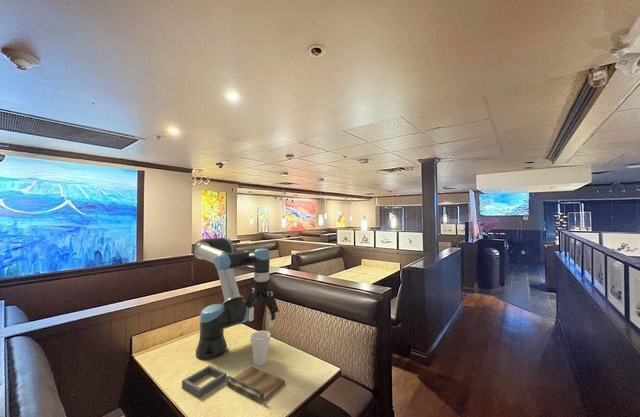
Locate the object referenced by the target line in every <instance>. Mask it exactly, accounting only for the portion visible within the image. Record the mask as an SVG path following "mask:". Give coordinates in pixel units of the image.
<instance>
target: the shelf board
mask: <svg viewBox="0 0 640 417" xmlns="http://www.w3.org/2000/svg"><path fill="white" fill-rule="evenodd" d="M285 383H286V381H285V379H282V378H280V377H279V376H276V375H273V374H271V373H269V372H266V371H264V370H262V369H259V368H257V367H255V366H252V365H250V366H249V367H248V368H246V369H245V370H243V371H241V372H240V373H238V374H237V375H235V376H234V377H233V376H231V375H227V380H226V386H227V387H228V388H230V389H232V390H233V391H236V392H238V393H239V394H242V395H243V396H245V397H247V398H249V399H251V400H253V401H255V402H256V403H259V404H261V405H262V404H264V403H265V402H266V401H267V400H268V399H269V398H271V397H272V396H273V395H274V394H275V393H276V392H277V391H279V390H280V389H281V388H282V387H283V386H285V385H286V384H285Z"/></svg>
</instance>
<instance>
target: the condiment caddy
mask: <svg viewBox="0 0 640 417" xmlns="http://www.w3.org/2000/svg"><path fill="white" fill-rule="evenodd" d="M207 375H210V376H212V377H214V379H212V380H210V381H209V382H207V383H205V384H204V385H202V386H201V387H200V386H198V385H197V384H195V383H196V382H197V381H199V380H201V379H203V378H204V377H206V376H207ZM227 376H228V373H227V372H225V371H223V370H220V369H219V368H216V367H215V366H212V365H207V366H205V367H204V368H201V369H200V370H198V371H196V372H195V373H192V374H191V375H189V376H187V377H186V378H184V379H182V380H181V388H182V389H183V390H184V391H186V392H188V393H190V394H192V395H193V396H195V397H197V398H198V399H201V398H202V397H203V396H205V395H207V394H208V393H210V392H211V391H213V390H214V389H216V388H218V386H220V385H222V384H223V383H225V382H227Z"/></svg>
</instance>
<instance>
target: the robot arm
mask: <svg viewBox="0 0 640 417" xmlns="http://www.w3.org/2000/svg"><path fill="white" fill-rule="evenodd" d="M191 252H192V253H191V254H192V255H193V257H195V258H197V259H199V260H206V261H207V262H210V263H212V264H214V267H215V268H216V271H217V275H218V278H219V282H220V287H221V291H222V296H223V299H224V301H223V303H214V304H210V305H208V306H206V307H204V308H203V309H202V310H201V311H200V316H199V317H200V318H199V340H198V344H197V346H196V349H195V357H196V358H197V359H199V360H205V361H207V360H213V359H217V358H220V357H221V356H223V355H224V354H225V353H227V351H228V345H227V341H226V339H225V336H224V335H225V334H224V332H225V331H224V330H225V329H229V328H231V327H234V326H237V325H242V324H243V323H247V321H248V322H252V321H254V316H255V315H254V314H255V308H254V305H255V303H256V302H257V300H261V301H263V302H264V303H265V305H266V308H267V309H268V311H269V314H268V328H273V327H274V326H275V320H276V313H278V312H279V306H278V304H277V301H276V298H275V292H274V291H273V290H271V291H269V289H270V260H271V259H270V258H271V256H270V249H268V248H256V249H254V251H253V250H244V251H239V252H234V243H233V242H232V240H231V239H230V238H228V237H218V238H217V237H216V238H203V239H202V238H201V239H199V240H198V241H196V242H195V243H194V244H193V246H192V248H191ZM244 267H253V287H252V288H250V289H249V294H248V296H247V299H245V298H244V296H242V295H241V294H240V291H239V287H238V283H237V280H236V276H235V272H234V269H237V268H238V269H239V268H244Z"/></svg>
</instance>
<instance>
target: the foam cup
mask: <svg viewBox="0 0 640 417" xmlns="http://www.w3.org/2000/svg"><path fill="white" fill-rule="evenodd" d="M250 342H251V350H252V359H253V364H254V365H255V366H262V365H265V364H266V363H267V362H268V354H269V349H270V348H269V347H270V342H271V333H270V332H269V330H256V331H255V332H253V333H251V334H250Z"/></svg>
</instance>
